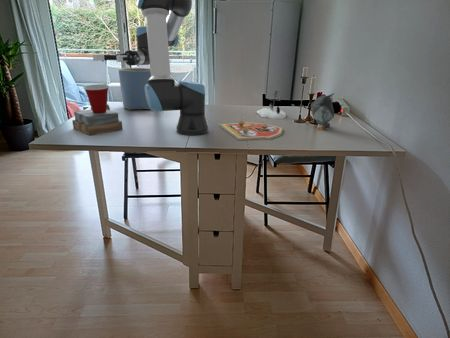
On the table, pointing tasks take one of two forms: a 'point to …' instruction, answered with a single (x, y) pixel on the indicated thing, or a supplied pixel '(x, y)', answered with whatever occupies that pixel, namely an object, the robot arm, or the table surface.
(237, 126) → the knob puzzle
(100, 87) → the plastic cup
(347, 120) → the table surface
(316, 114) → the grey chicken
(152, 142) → the table surface
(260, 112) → the figurine
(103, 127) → the stack of books
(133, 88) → the planter
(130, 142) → the table surface
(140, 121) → the table surface
